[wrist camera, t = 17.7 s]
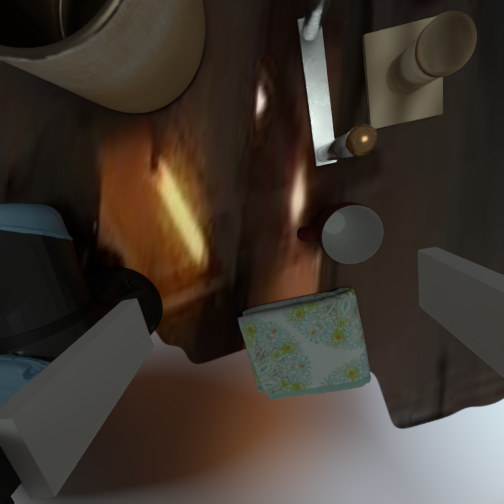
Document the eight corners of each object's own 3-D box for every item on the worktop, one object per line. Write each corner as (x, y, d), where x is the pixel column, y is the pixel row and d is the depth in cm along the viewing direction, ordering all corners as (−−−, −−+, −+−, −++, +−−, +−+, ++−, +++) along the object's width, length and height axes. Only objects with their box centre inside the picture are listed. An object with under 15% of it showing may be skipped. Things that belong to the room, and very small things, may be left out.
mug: (300, 255, 46) (310, 276, 36) (289, 210, 44) (295, 219, 34) (362, 238, 44) (389, 256, 35) (353, 191, 42) (379, 196, 33)
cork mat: (369, 130, 40) (371, 129, 39) (362, 37, 36) (364, 34, 36) (439, 114, 39) (442, 113, 38) (438, 18, 35) (442, 14, 35)
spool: (385, 102, 38) (419, 80, 29) (382, 56, 36) (417, 19, 28) (427, 93, 37) (476, 67, 29) (426, 45, 36) (477, 3, 27)
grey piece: (315, 166, 41) (351, 159, 24) (296, 24, 36) (325, -114, 19) (334, 162, 41) (385, 152, 24) (318, 18, 36) (367, -128, 19)
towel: (236, 308, 49) (232, 322, 45) (350, 283, 47) (360, 295, 42) (260, 386, 54) (259, 407, 49) (365, 367, 52) (376, 387, 47)
